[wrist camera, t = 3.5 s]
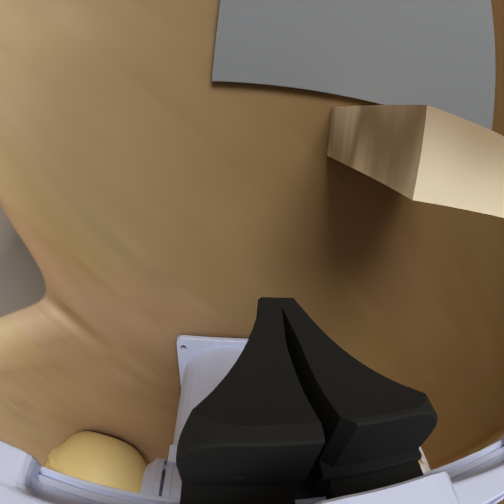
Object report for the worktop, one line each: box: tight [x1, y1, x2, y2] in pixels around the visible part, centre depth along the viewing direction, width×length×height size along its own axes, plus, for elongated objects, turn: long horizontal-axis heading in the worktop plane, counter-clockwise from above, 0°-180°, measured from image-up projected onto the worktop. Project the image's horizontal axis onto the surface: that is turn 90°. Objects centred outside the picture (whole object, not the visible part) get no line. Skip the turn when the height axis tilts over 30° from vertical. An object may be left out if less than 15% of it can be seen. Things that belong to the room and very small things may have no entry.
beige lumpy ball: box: [44, 431, 146, 493], centre depth 25 cm, size 11×12×11 cm
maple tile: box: [327, 105, 504, 218], centre depth 13 cm, size 3×6×10 cm, turn 85°
